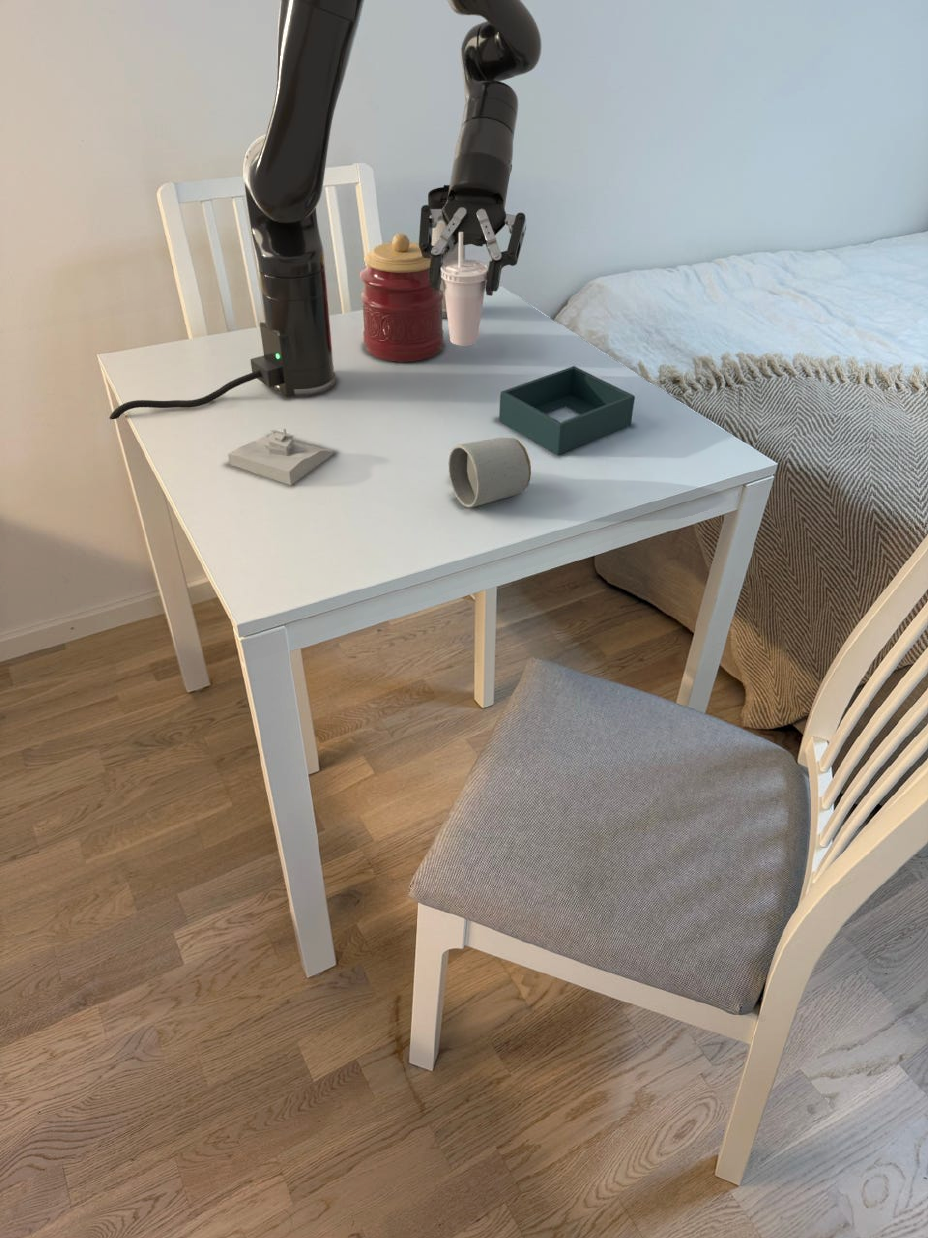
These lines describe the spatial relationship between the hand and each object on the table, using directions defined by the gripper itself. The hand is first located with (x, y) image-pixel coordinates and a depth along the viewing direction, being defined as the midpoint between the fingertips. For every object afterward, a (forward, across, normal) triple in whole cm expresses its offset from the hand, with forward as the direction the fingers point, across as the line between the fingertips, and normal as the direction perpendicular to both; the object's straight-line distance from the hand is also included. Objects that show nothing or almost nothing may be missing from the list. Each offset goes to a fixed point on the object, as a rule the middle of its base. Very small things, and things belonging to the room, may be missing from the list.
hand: (462, 289), depth 114 cm
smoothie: (+4, 0, +6) cm, 8 cm away
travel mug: (-14, -11, +41) cm, 45 cm away
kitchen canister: (-3, -14, +29) cm, 32 cm away
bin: (+11, +15, +14) cm, 24 cm away
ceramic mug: (+26, +7, 0) cm, 27 cm away
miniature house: (+25, -20, +1) cm, 32 cm away
